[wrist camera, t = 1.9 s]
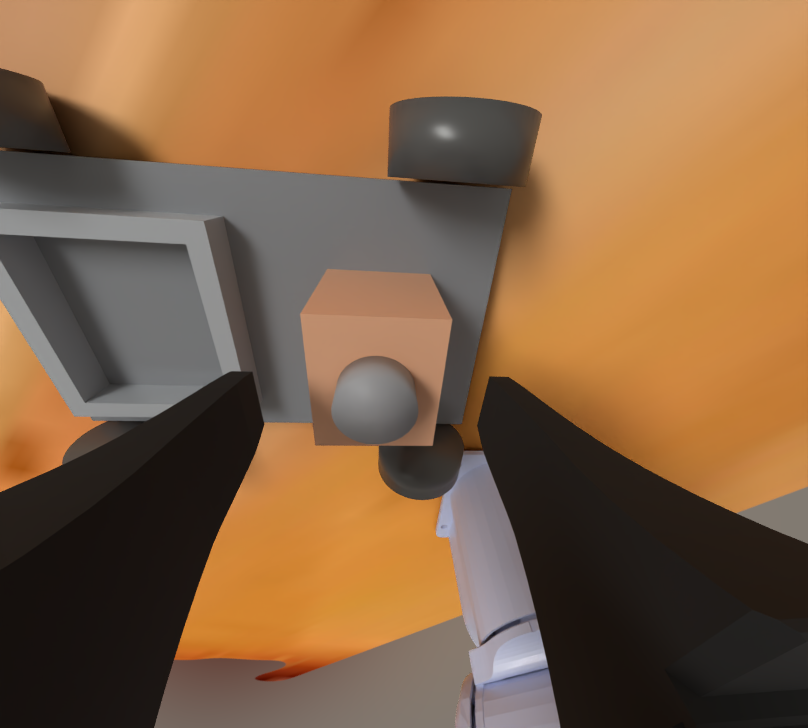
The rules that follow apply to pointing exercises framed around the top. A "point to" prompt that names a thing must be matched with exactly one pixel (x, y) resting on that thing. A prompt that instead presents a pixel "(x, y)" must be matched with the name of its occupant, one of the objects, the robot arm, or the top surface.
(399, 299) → the block
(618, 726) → the robot arm
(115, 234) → the chassis
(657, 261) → the top surface
